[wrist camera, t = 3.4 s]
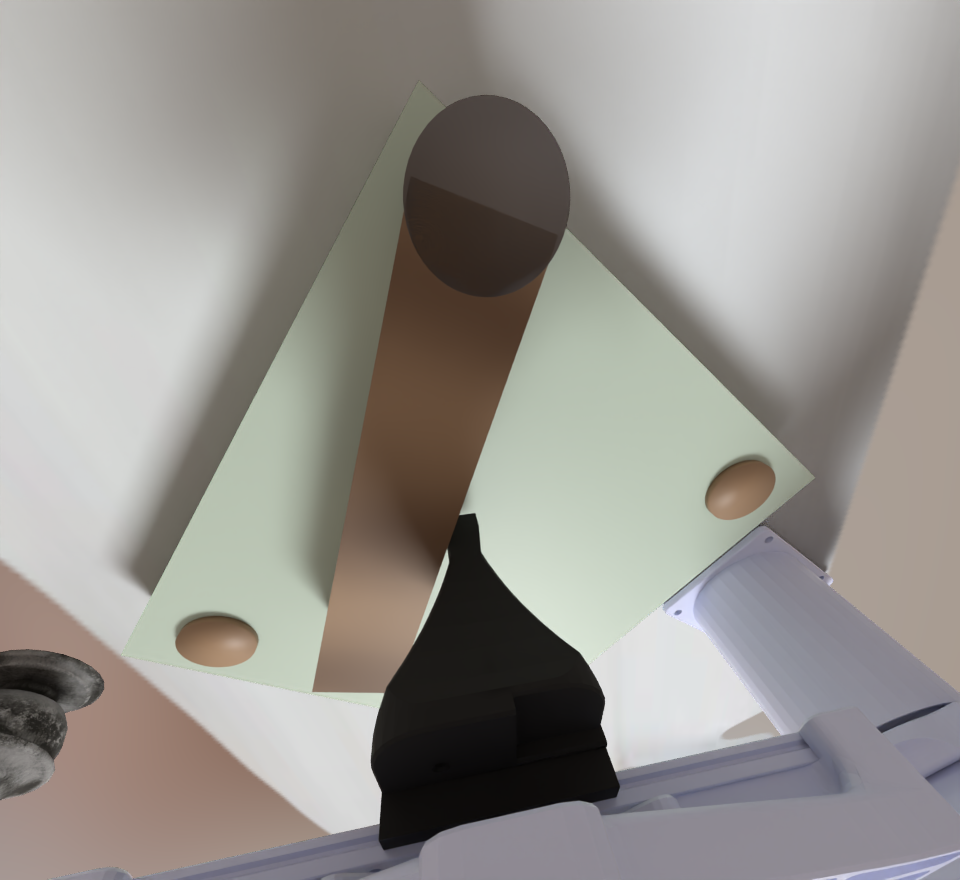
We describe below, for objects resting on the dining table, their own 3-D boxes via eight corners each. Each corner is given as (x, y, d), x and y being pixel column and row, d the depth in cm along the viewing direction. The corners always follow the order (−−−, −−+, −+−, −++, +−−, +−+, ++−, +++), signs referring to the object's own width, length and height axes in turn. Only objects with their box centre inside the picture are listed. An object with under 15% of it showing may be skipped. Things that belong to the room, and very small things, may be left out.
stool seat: (768, 450, 19) (821, 481, 16) (497, 692, 25) (505, 739, 23) (418, 115, 10) (418, 74, 8) (158, 604, 17) (115, 662, 15)
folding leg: (424, 117, 8) (426, 57, 6) (546, 172, 9) (597, 141, 7) (327, 617, 16) (309, 692, 13) (401, 622, 16) (398, 693, 14)
